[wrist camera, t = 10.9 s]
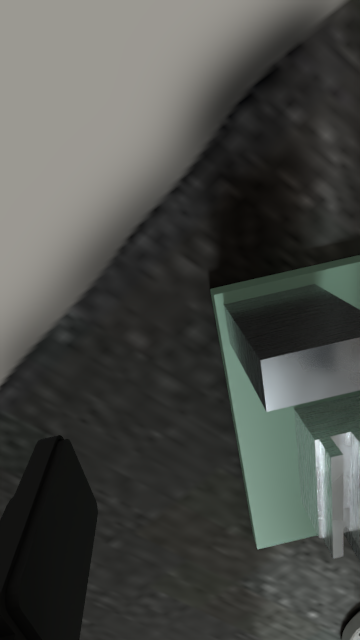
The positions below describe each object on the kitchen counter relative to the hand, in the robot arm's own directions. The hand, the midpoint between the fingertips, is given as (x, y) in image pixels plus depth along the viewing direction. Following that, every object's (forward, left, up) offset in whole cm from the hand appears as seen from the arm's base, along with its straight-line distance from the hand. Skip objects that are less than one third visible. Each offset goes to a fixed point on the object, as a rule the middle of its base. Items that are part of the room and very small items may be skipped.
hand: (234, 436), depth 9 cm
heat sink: (-8, -8, -8) cm, 14 cm away
